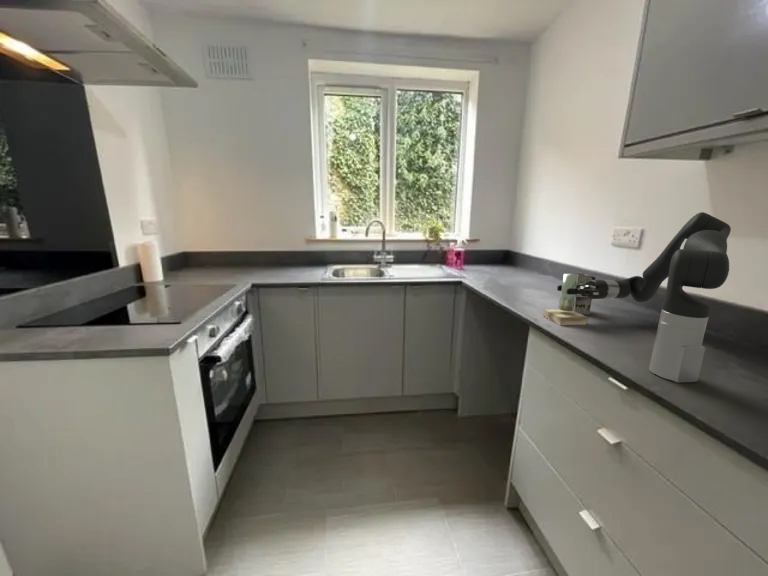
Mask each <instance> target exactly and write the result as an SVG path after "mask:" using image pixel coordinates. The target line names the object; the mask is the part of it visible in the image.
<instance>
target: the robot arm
mask: <svg viewBox="0 0 768 576" xmlns="http://www.w3.org/2000/svg"><path fill="white" fill-rule="evenodd" d="M731 230H732V228H731V226H730V225H729V224H728V223H727V222H725V221H723V220H721V219H718V218H717V217H714V216H713V215H711V214H709V213H706V212H704V211H702V212H701V211H700V212H699V213H696V214H695V215H693V216H692V217H691V218H690V219H688V221H687V222H686V223H685V224H683V226H682V227H681V229H680V230H679V231H678V233H676V234H675V236H674V237H673V238H672V239H671V240H670V242H669V243H668V244H667V245H666V247H665V248H664V249H663V250H662V252H661V253H660V254H659V255H658V256H657V258H656V259H655V260H654V261H653V262H652V263H651V264H649V266H647V268H645V270H643V272H642V276H640V275H634V276H631V277H629V278H624V279H621V280H619V279H617V280H616V279H614V280H612V279H595V280H590V281H588V282H587V284H577V289H576V288H568V289H567V292H566V293H567V294H568V295H569V294H577V295H581V296H588V297H589V298H590V299H592V300H607V299H624V298H625V299H626V298H627V297H628V296H629V295H631V297H632V298H633V300H634V301H635V302H638V303H645V302H648V301H650V300H651V299H653V297H654V296H655V295H656V293H657V291H658V290H659V288H661V287H660V286H661V285H662V284H663V282H664V281H665V280H666V279H667V284H666V290H665V295H664V300H663V303H662V307H661V310H660V311H661V313H660V315H659V316H660V317H659V321H658V325H657V330H656V333H655V339H654V344H653V349H652V353H651V359H650V363H649V368H648V370H649V371H650V372H651V373H652V374H654V375H655V374H656V376H657V375H658V377H661V378H662V379H666V380H670V381H673V382H675V383H677V384H678V383H696V382H698V380H699V375H700V372H701V368H702V364H703V359H704V356H705V352H706V347H705V346H703V341H704V337H705V332H706V328H707V325H708V321H709V317H710V313H711V306H710V305H709V303H706V302H705V301H702V300H699V299H698V298H695V297H693V296H692V295H690V294H689V293H687V292H686V291H684V289H683V287H688V288H689V287H690V288H696V289H703V290H704V289H706V290H713V289H718V288H720V287H722V286H723V284H724V283H725V282H726V280H727V278H728V276H729V272H730V260H729V256H728V254H727V252H728V238H729V236H730V234H731ZM684 242H685V243H684ZM683 243H684V244H683ZM682 245H683V248H682V249H681V247H682ZM561 287H562V284H558V285H557V288H556V289H557V291H558V292H561Z"/></svg>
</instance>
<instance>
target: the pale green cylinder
mask: <svg viewBox="0 0 768 576" xmlns="http://www.w3.org/2000/svg"><path fill="white" fill-rule="evenodd" d="M578 276H579V275H577V274H573V273H572V272H571V273H569V272H566V273H565V272H564V273H563V274H562V282H561V285H562V287H561V291H560V294H559V295H560V296H559V304H558V309H560V310H562V311H573V310H574V303H575V296H576V294H569V295H568V294H567V293H566V292H567V289H568V288H576V289H577V283H578Z"/></svg>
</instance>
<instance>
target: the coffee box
mask: <svg viewBox="0 0 768 576" xmlns="http://www.w3.org/2000/svg"><path fill="white" fill-rule="evenodd" d="M572 274H577V275H579V276H578V283H577V284H587V282H588V281H590V280H596V276H594V275H591V274H588V273H584V272H583V273H580V272H579V273H573V272H572ZM592 300H593V299H590V298H589V297H588V296H581V295H577V294H576V296H575V303H574V310H573V311H575V312H577V313H579V314H581V315H590V313H591V305H592Z"/></svg>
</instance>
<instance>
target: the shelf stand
mask: <svg viewBox="0 0 768 576" xmlns="http://www.w3.org/2000/svg"><path fill="white" fill-rule="evenodd" d="M543 316H544V317H543ZM542 317H543V318H545V317H546V318H545V319H547V318H548V319H547V320H549V319H550V320H549V321H551V322H553V323H555V324H557V325H559V326H577V325H579V326H582V325H583V326H586V325H587V323H588V318H589V317H588V316H586V315H585V314H579V313H577V312H575V311H562V310H560V309H559V308H551V309H550V308H548V309H547V308H544V309H543V314H542Z"/></svg>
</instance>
